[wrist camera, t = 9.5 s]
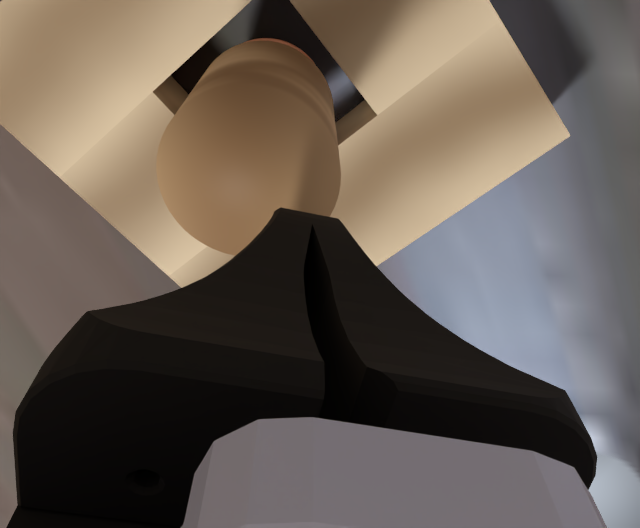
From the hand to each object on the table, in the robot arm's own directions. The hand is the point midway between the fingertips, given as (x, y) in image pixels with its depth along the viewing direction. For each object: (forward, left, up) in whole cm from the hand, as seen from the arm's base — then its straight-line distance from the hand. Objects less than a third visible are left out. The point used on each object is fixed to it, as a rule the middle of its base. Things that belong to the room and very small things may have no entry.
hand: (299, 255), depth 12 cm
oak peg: (+2, 0, -10) cm, 11 cm away
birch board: (+2, 0, -10) cm, 10 cm away
